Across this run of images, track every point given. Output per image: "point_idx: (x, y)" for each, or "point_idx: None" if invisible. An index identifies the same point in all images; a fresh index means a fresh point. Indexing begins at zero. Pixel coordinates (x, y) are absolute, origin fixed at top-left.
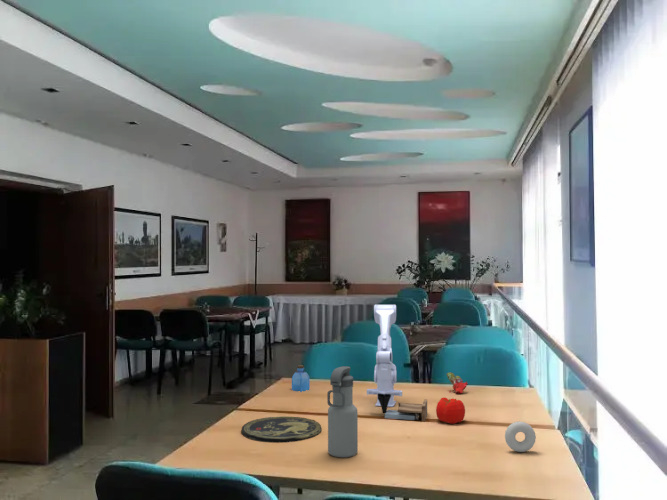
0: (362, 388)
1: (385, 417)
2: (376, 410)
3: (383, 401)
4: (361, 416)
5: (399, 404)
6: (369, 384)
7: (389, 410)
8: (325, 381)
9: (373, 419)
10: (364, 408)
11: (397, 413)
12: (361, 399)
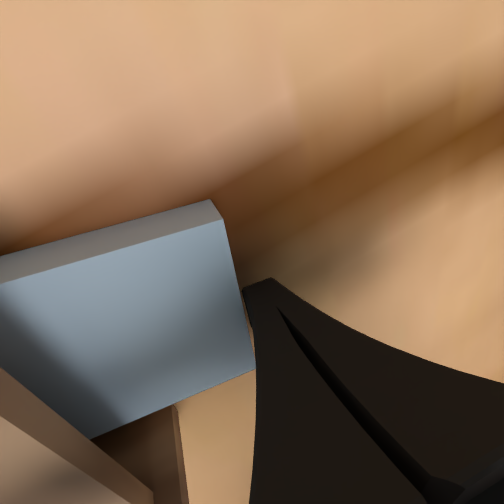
0: None
1: (202, 205)
2: None
3: (348, 399)
4: (441, 134)
5: (168, 495)
6: None
7: (230, 361)
8: None
9: (316, 56)
10: (411, 334)
11: (68, 332)
12: None
